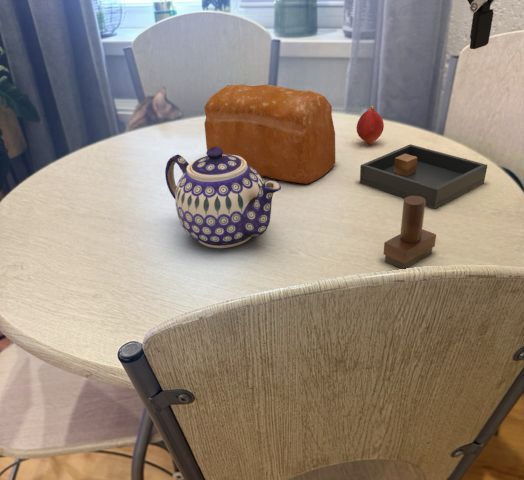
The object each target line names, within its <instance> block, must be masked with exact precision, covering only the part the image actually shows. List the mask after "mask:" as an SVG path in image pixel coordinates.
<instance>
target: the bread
mask: <svg viewBox="0 0 524 480" xmlns="http://www.w3.org/2000/svg"><path fill="white" fill-rule="evenodd" d="M332 111H333V106H332V105H331V104H330V102H329V101H328V99H327V98H326V96H325V95H323V94H321V93H319V92H315V91H311V90H299V89H294V88H288V87H285V86H278V85H272V84H259V85H249V84H242V83H238V84H231V85H230V84H229V85H226V86H224V87H222V88H220V90H218V91H217V92H215V93H214V94H213V95H211V96H210V97H209V98H208V100H207V102H206V103H205V105H204V114H205V120H204V132H205V133H204V135H205V143H206V145H205V146H206V151H207V150H208V149H210V148H212V147H220V148H221V149H222V150H223V154H228V155H236V156H240V157H242V158H243V159H244V160H245V161H246V163H247V165H248V166H250V167H252V168H253V169H254V170H256V172H257V173H258V174H259V175H260V176H261V177H265V178H269V179H274V180H279V181H282V182H283V181H284V182H291V183H299V184H306V185H307V184H310V183H313V182H314V181H316V180H318V179H320V178H322V177H323V176H324V175H326V174H327V173H328V172H329V171H330V170H331V169H332V168H333V167H334V166H335V164H336V129H335V124H334V121H333V115H332V114H333V112H332Z"/></svg>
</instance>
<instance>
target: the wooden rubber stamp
mask: <svg viewBox="0 0 524 480" xmlns="http://www.w3.org/2000/svg"><path fill="white" fill-rule="evenodd" d="M425 202H426V200H425V198H423V197H420V196H408V197H406V198H403V202H402V213H401V222H400V233H399V234H398V235H396V236H394V237H392V238H390V239H388V240H386V241H384V243H383V255H384V256H385V257H384V262H386V263H388V264H390V265H392V266H394V267H396V268H399V269H400V270H403V269H404V270H405V268H406V269H407V268H409V267H411V266H412V265H415V264H416V263H418V262H419V261H421V260H423V259H424V258H426V257H428V256H430V255H431V254H432V253H433V248H435V246H436V239H437V233H434V232H431V231H429V230H426V229H424V228H423V225H424V218H425V209H426V206H425Z"/></svg>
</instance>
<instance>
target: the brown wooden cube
mask: <svg viewBox="0 0 524 480" xmlns="http://www.w3.org/2000/svg"><path fill="white" fill-rule="evenodd" d="M416 166H417V157H415V156H412V155H408V154H403V155H401V156H398V157H396V158H395V165H394V173H395V174H398V175H401V176H405V177H407V176H409V175H411V174H413V173H415V172H416Z"/></svg>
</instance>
